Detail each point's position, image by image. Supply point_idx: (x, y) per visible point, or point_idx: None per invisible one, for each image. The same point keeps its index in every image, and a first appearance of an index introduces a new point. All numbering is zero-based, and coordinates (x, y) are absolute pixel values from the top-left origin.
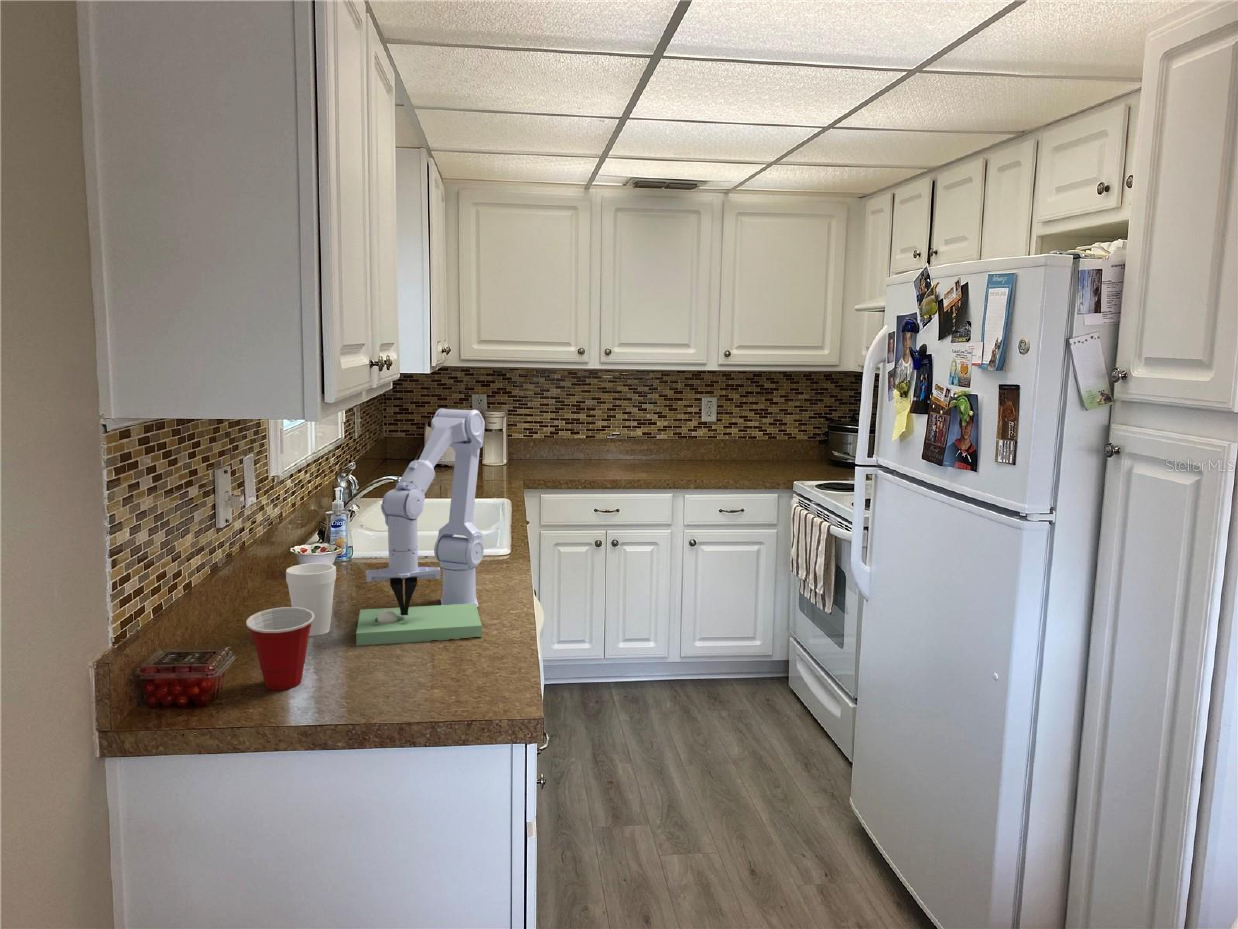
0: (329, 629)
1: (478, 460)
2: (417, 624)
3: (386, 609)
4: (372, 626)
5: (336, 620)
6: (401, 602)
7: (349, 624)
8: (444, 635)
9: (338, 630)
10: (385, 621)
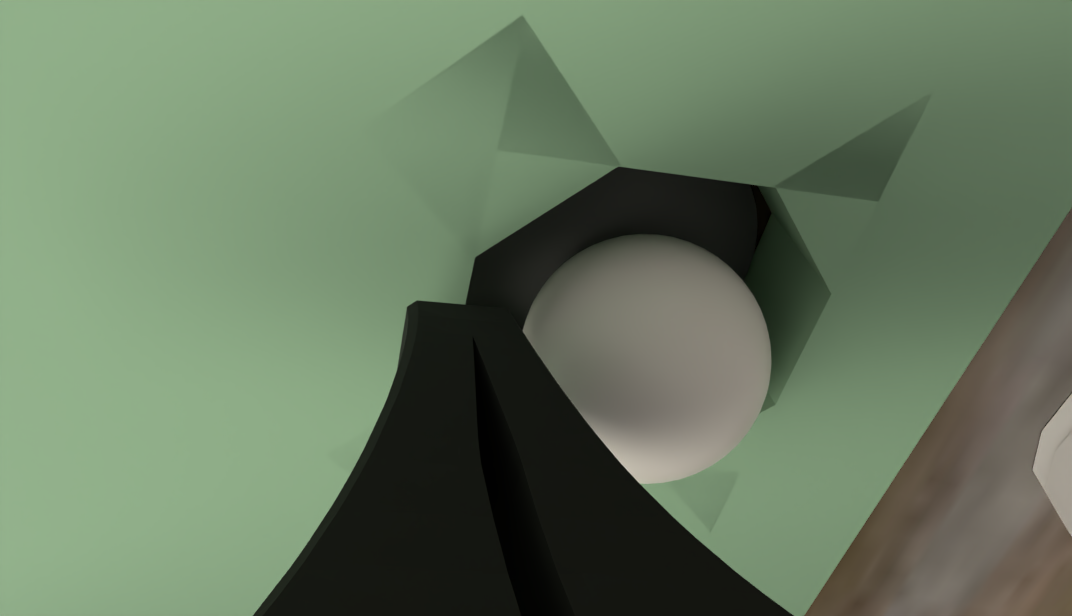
0: (1049, 425)
1: None
2: None
3: None
4: (945, 110)
5: (892, 588)
6: (542, 434)
7: None
8: None
9: (999, 395)
10: (709, 270)
